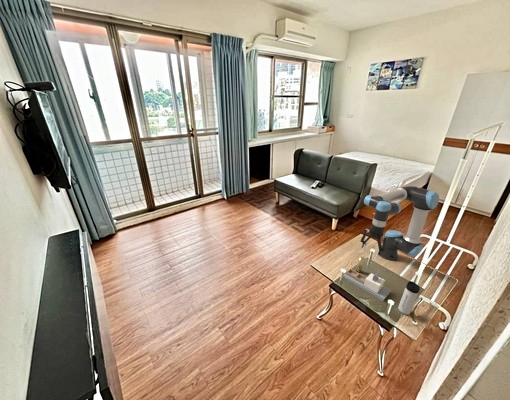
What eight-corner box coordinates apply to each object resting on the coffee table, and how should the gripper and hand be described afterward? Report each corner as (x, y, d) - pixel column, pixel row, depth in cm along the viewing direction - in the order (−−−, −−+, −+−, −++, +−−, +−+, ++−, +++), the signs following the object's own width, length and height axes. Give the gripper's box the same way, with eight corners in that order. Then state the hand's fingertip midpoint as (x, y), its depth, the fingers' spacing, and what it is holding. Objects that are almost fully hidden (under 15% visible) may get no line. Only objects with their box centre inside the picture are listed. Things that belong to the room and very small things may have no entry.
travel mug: (406, 307, 135) (417, 282, 128) (411, 316, 129) (422, 289, 122) (395, 305, 136) (405, 279, 130) (400, 314, 130) (410, 287, 123)
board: (350, 270, 166) (351, 264, 164) (389, 292, 147) (392, 285, 145) (342, 277, 159) (344, 270, 157) (383, 301, 139) (385, 293, 137)
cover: (369, 279, 155) (372, 268, 151) (382, 286, 148) (386, 275, 145) (363, 285, 149) (366, 273, 145) (377, 293, 143) (381, 281, 139)
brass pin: (357, 269, 169) (360, 256, 165) (361, 271, 166) (365, 258, 162) (354, 270, 167) (358, 257, 163) (359, 273, 164) (363, 260, 160)
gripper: (359, 220, 143) (352, 250, 151) (394, 233, 129) (384, 265, 137) (364, 217, 148) (357, 246, 156) (398, 229, 134) (388, 260, 142)
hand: (369, 255), depth 146 cm, fingers open, 8 cm apart
